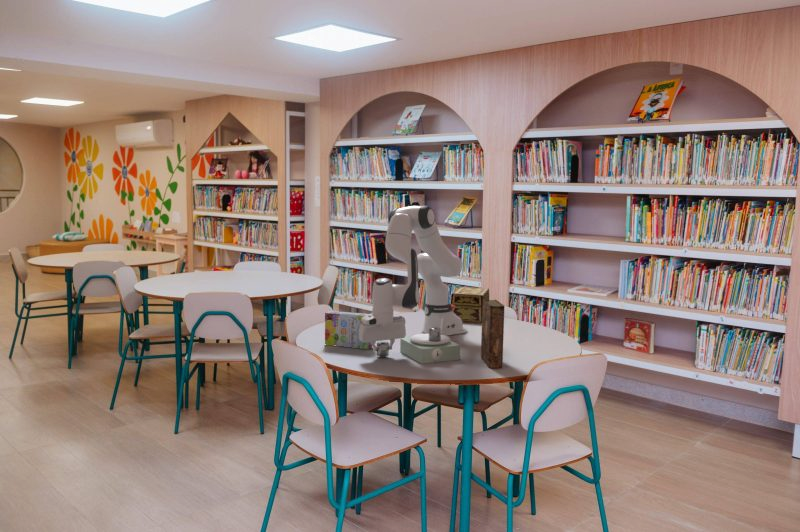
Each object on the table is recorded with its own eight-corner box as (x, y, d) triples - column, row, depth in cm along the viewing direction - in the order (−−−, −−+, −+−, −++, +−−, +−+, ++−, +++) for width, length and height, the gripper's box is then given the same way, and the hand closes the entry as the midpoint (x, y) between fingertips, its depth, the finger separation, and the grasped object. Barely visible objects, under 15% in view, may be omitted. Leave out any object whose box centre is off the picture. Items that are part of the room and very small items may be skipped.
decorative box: (457, 311, 368) (458, 286, 367) (490, 314, 364) (490, 287, 362) (448, 321, 342) (449, 293, 340) (483, 323, 337) (484, 295, 335)
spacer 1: (385, 352, 271) (385, 341, 270) (390, 355, 266) (390, 343, 266) (374, 354, 269) (374, 342, 268) (379, 357, 264) (379, 345, 263)
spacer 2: (437, 338, 270) (437, 326, 269) (442, 341, 266) (443, 329, 265) (426, 339, 268) (426, 327, 267) (432, 342, 263) (432, 330, 263)
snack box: (372, 347, 284) (373, 313, 283) (368, 350, 279) (368, 316, 277) (329, 342, 291) (329, 310, 289) (324, 345, 286) (324, 312, 284)
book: (503, 368, 253) (505, 306, 250) (489, 368, 253) (491, 306, 250) (493, 357, 269) (495, 299, 266) (480, 357, 269) (482, 299, 266)
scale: (436, 348, 284) (437, 331, 283) (460, 359, 265) (461, 342, 264) (400, 351, 276) (400, 334, 275) (422, 364, 258) (422, 346, 257)
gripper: (402, 314, 273) (401, 345, 274) (357, 318, 264) (357, 351, 266) (408, 317, 267) (408, 349, 269) (363, 321, 258) (363, 354, 260)
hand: (382, 350), depth 267 cm, fingers closed on spacer 1, 5 cm apart
